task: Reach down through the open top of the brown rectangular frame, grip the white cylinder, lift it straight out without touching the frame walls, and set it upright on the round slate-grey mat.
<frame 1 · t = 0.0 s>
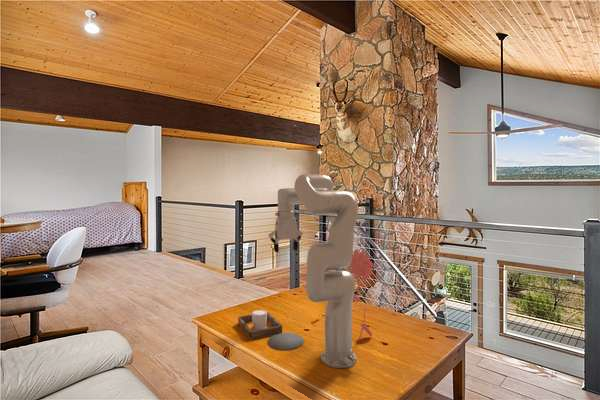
hand: (286, 251, 159), 31 cm above the table, tool pointing down, fingers open, 9 cm apart
brown rectangular frame: (259, 328, 147), on the table
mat: (286, 341, 134), on the table
white cylinder: (259, 328, 147), resting in brown rectangular frame
figurine: (360, 332, 143), on the table
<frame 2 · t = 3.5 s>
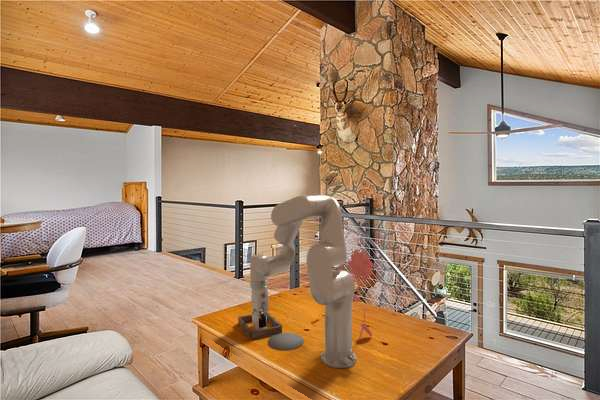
hand: (259, 323, 147), 2 cm above the table, tool pointing down, fingers closed on white cylinder, 6 cm apart
white cylinder: (259, 328, 147), resting in brown rectangular frame, touching gripper
everything else where it was.
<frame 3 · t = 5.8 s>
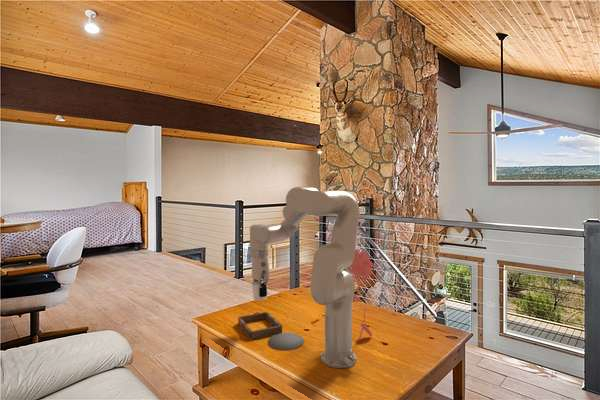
hand: (260, 293, 146), 15 cm above the table, tool pointing down, fingers closed on white cylinder, 6 cm apart
white cylinder: (260, 299, 146), point 13 cm above the table, touching gripper
everything else where it was.
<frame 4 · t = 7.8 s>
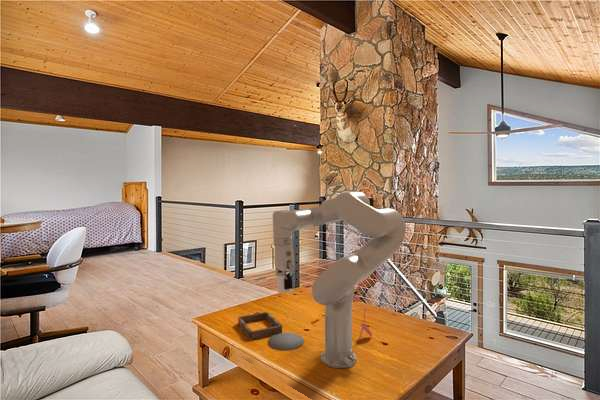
hand: (284, 286, 134), 22 cm above the table, tool pointing down, fingers closed on white cylinder, 6 cm apart
white cylinder: (284, 291, 134), point 20 cm above the table, touching gripper
everything else where it was.
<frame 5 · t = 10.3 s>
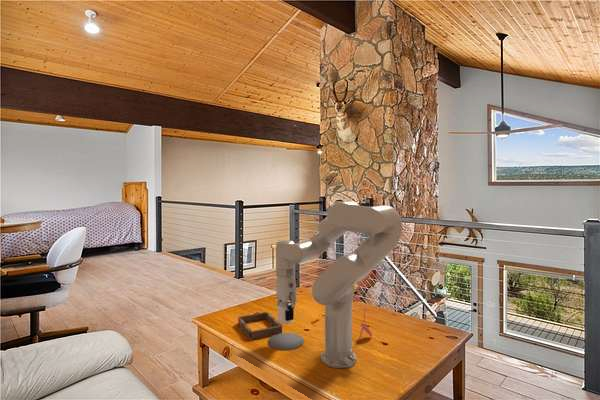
hand: (285, 316, 134), 10 cm above the table, tool pointing down, fingers closed on white cylinder, 6 cm apart
white cylinder: (285, 321, 134), point 8 cm above the table, touching gripper
everything else where it was.
when the fingers open (4 cm above the table, at t = 12.2 s): white cylinder drops 1 cm, resting on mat.
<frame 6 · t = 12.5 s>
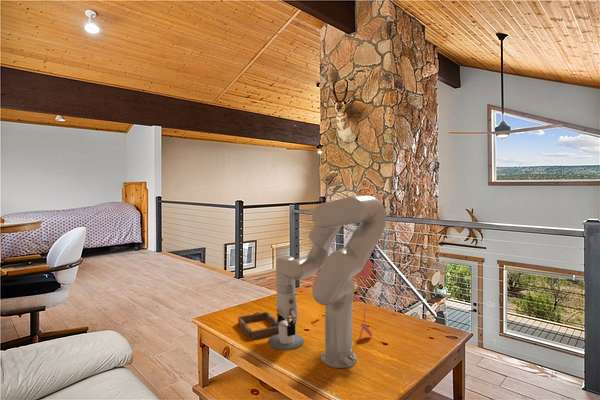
hand: (286, 330, 134), 4 cm above the table, tool pointing down, fingers open, 9 cm apart
white cylinder: (286, 341, 134), resting on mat
everything else where it was.
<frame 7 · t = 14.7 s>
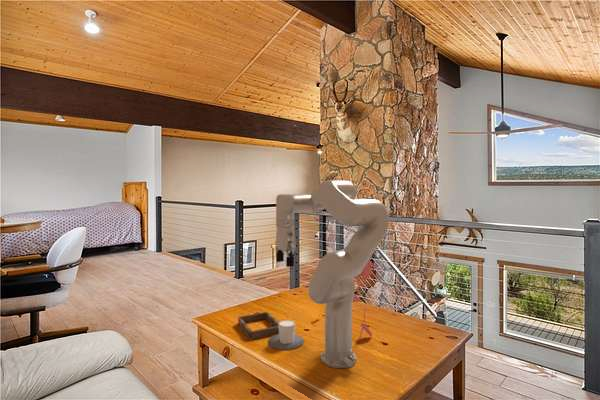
hand: (284, 263, 143), 29 cm above the table, tool pointing down, fingers open, 9 cm apart
nothing on the table moved.
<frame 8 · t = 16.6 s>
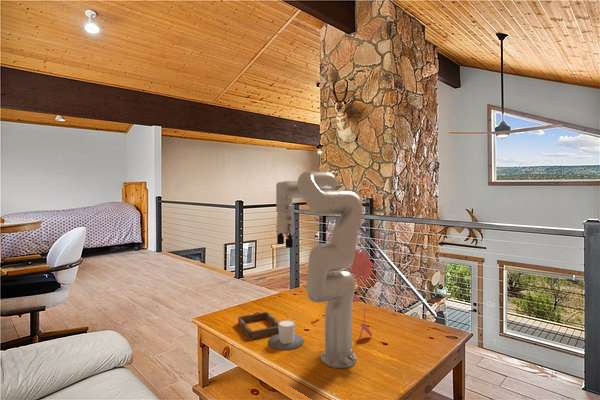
hand: (284, 245, 155), 34 cm above the table, tool pointing down, fingers open, 9 cm apart
nothing on the table moved.
at the end: white cylinder inside the target area on the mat (0.4 cm from its centre), point 0.3 cm above the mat's base; white cylinder tilted 0°; the gripper is holding nothing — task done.
